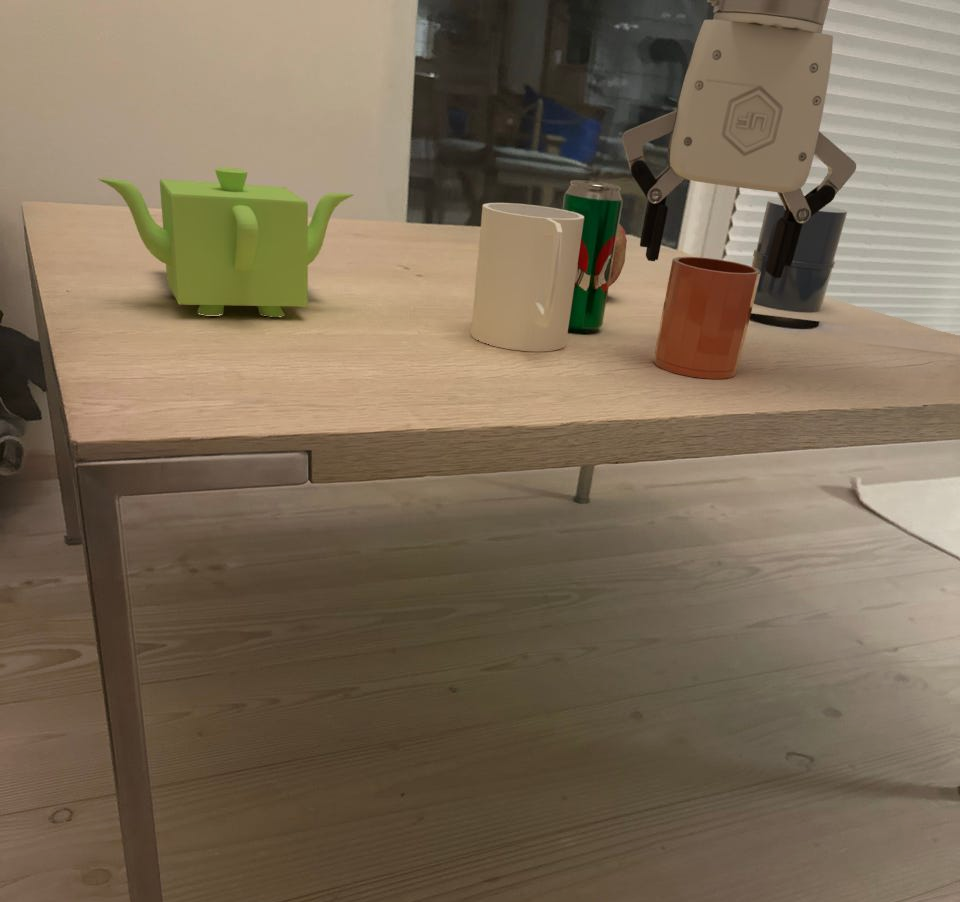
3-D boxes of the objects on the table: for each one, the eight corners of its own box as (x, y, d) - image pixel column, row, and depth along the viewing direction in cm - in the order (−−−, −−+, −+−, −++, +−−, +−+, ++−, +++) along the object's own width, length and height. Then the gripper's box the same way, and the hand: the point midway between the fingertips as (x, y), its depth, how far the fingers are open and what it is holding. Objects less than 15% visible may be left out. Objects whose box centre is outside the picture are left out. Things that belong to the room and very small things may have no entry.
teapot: (109, 305, 75) (93, 158, 69) (204, 282, 86) (197, 154, 80) (275, 337, 71) (273, 185, 66) (352, 309, 82) (355, 176, 77)
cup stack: (808, 315, 102) (838, 206, 96) (826, 332, 95) (860, 216, 89) (732, 306, 102) (758, 197, 96) (745, 322, 95) (773, 205, 89)
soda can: (592, 322, 88) (615, 182, 81) (608, 335, 83) (632, 189, 77) (541, 319, 86) (559, 177, 80) (554, 332, 82) (574, 184, 76)
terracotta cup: (729, 361, 79) (752, 263, 75) (741, 383, 74) (767, 277, 69) (650, 352, 80) (669, 253, 75) (657, 372, 74) (678, 267, 70)
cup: (494, 362, 72) (509, 222, 66) (461, 324, 81) (472, 200, 76) (593, 366, 74) (615, 230, 68) (550, 328, 83) (566, 207, 78)
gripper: (651, -17, 61) (604, 259, 69) (913, 17, 60) (832, 290, 69) (643, -7, 67) (601, 245, 76) (880, 24, 67) (810, 273, 76)
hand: (711, 266), depth 72 cm, fingers open, 9 cm apart
